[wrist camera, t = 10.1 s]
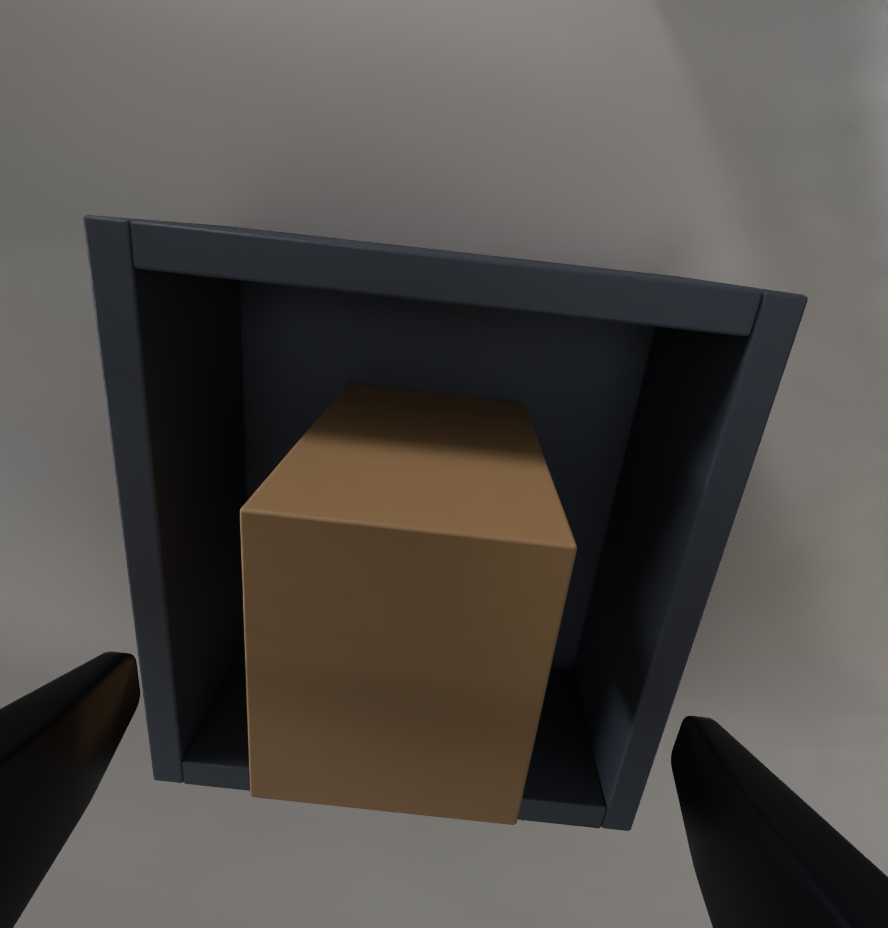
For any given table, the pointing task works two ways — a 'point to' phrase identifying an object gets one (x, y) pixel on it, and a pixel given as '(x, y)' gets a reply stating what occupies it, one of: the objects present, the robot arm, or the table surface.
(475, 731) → the carton
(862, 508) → the table surface
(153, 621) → the basin
